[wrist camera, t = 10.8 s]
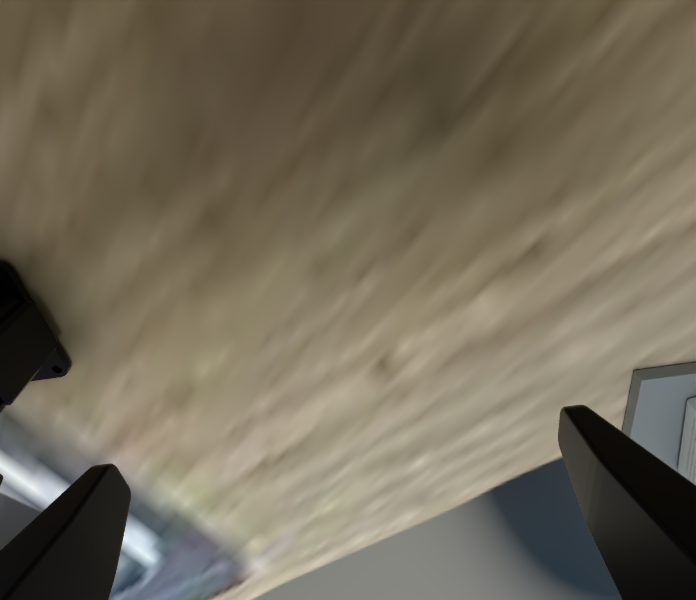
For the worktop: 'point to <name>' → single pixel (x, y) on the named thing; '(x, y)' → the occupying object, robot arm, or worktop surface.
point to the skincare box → (689, 443)
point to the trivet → (660, 409)
